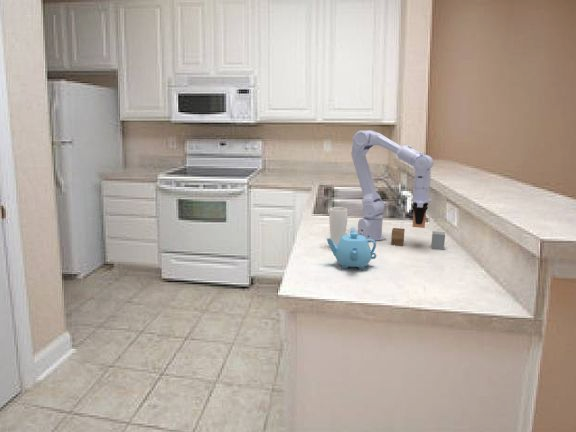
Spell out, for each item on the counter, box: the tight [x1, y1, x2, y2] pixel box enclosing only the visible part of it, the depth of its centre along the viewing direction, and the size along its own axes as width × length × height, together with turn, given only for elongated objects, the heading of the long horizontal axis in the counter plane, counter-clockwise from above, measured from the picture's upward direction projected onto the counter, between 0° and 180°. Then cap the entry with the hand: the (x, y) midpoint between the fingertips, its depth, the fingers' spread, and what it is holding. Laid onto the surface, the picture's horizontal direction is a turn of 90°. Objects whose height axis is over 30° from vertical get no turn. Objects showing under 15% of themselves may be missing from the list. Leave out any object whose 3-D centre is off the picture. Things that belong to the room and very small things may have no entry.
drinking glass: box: [328, 206, 349, 246], centre depth 165 cm, size 7×7×15 cm
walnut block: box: [390, 227, 405, 247], centre depth 171 cm, size 4×4×6 cm
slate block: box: [430, 230, 446, 251], centre depth 167 cm, size 4×4×6 cm
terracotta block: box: [412, 211, 427, 229], centre depth 167 cm, size 4×4×6 cm
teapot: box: [326, 226, 377, 271], centre depth 145 cm, size 15×14×11 cm
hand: (418, 222), depth 168 cm, fingers closed on terracotta block, 4 cm apart
